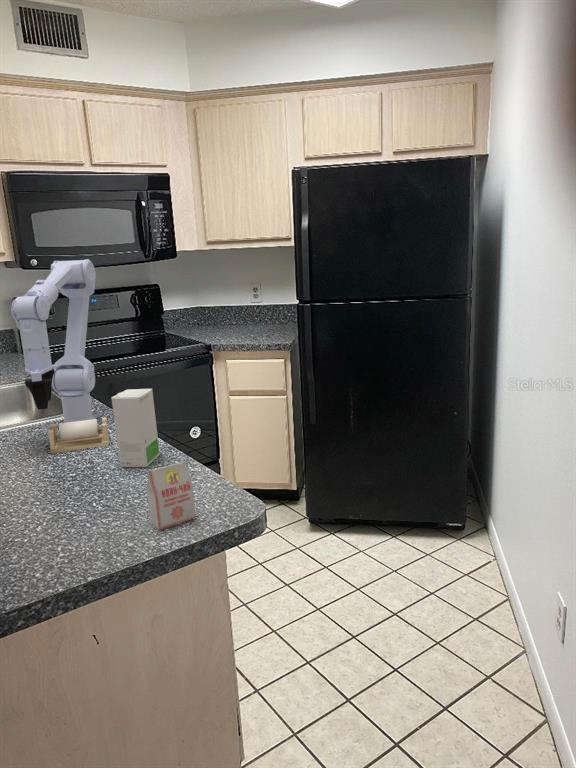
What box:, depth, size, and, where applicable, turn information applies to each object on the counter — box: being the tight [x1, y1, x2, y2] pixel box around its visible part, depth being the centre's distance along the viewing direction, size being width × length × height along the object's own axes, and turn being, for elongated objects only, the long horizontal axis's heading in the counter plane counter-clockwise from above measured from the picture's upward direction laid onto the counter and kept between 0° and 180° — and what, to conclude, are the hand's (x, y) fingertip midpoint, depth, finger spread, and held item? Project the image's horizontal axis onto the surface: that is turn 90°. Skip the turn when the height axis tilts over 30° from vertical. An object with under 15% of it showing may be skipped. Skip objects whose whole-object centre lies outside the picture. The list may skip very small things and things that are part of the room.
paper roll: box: [58, 418, 100, 442], centre depth 144 cm, size 9×5×5 cm, turn 106°
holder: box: [47, 416, 110, 454], centre depth 144 cm, size 8×13×5 cm, turn 106°
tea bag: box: [146, 461, 197, 531], centre depth 102 cm, size 4×7×10 cm, turn 124°
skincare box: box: [111, 388, 161, 468], centre depth 130 cm, size 8×7×16 cm
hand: (44, 404), depth 142 cm, fingers open, 7 cm apart
